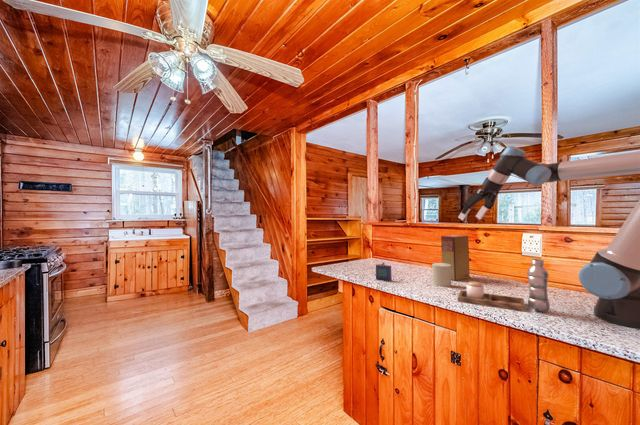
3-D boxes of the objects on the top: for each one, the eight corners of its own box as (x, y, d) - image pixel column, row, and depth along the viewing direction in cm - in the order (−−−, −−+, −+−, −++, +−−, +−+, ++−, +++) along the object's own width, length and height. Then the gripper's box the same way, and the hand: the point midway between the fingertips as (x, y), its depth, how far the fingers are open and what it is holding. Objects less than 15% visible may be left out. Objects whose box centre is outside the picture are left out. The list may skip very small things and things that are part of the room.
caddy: (523, 305, 110) (523, 298, 110) (525, 314, 101) (525, 306, 101) (461, 296, 123) (461, 290, 123) (458, 303, 114) (457, 296, 114)
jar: (484, 299, 116) (483, 282, 116) (483, 303, 110) (483, 285, 110) (467, 296, 119) (467, 280, 119) (466, 300, 114) (465, 283, 114)
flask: (392, 280, 154) (391, 262, 154) (390, 281, 152) (390, 262, 152) (376, 278, 159) (376, 261, 159) (375, 280, 156) (374, 261, 156)
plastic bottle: (551, 315, 100) (550, 262, 100) (528, 311, 103) (527, 260, 103) (548, 309, 105) (547, 259, 105) (526, 306, 109) (525, 257, 109)
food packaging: (456, 274, 164) (455, 234, 163) (470, 278, 155) (469, 235, 155) (441, 277, 158) (440, 235, 158) (455, 281, 149) (454, 236, 149)
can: (453, 289, 135) (453, 265, 135) (434, 288, 137) (434, 265, 137) (448, 284, 144) (448, 262, 144) (430, 283, 146) (430, 261, 146)
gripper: (503, 177, 128) (478, 213, 139) (471, 175, 116) (446, 214, 127) (518, 185, 122) (490, 222, 133) (485, 183, 111) (458, 224, 122)
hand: (469, 218), depth 130 cm, fingers open, 13 cm apart
